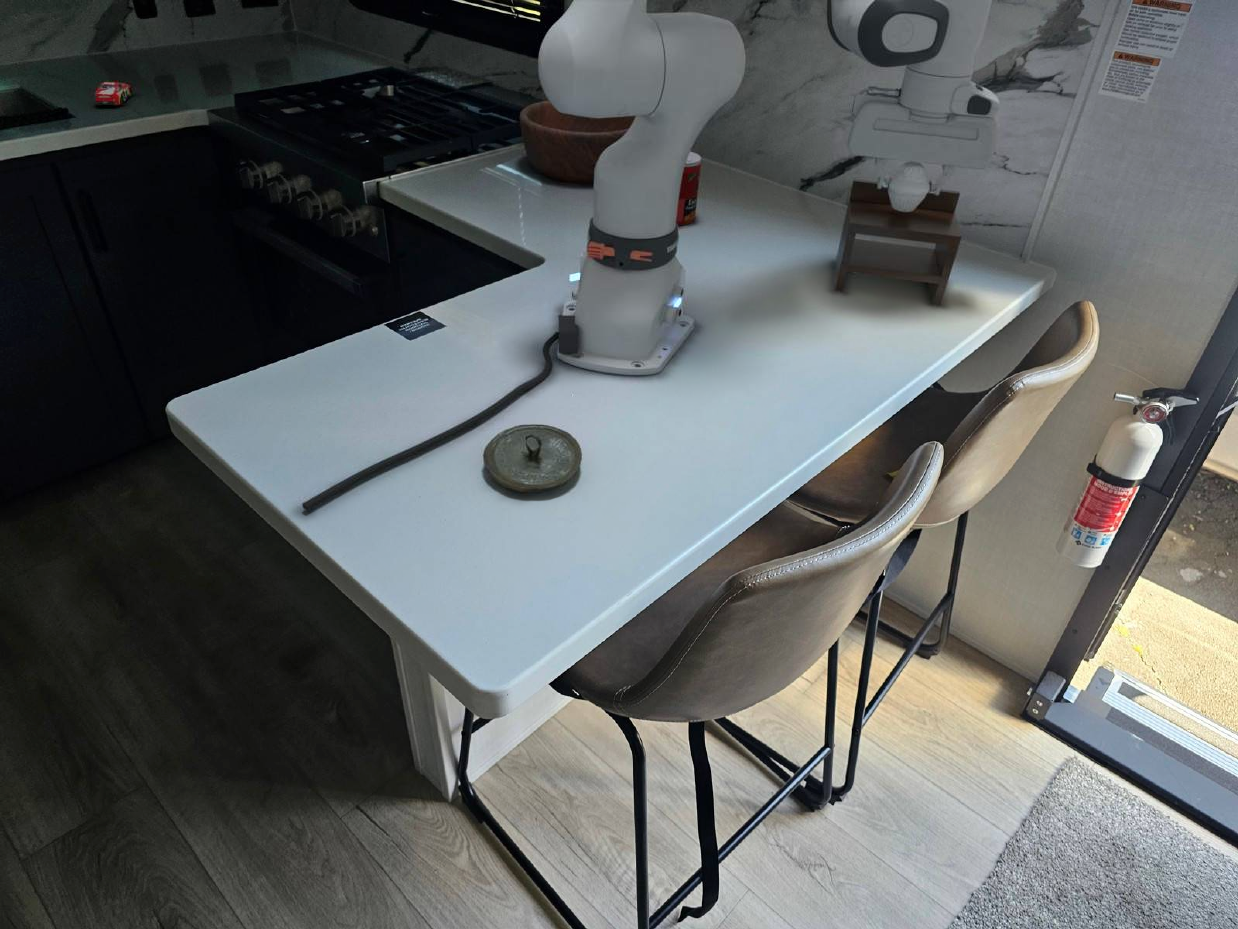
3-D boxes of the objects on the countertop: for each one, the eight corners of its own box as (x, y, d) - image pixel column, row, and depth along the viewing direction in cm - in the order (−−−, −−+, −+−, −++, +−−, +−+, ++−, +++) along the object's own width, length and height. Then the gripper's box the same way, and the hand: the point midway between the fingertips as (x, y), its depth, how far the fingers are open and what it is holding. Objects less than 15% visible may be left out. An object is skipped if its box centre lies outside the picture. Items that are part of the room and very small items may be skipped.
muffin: (874, 206, 128) (885, 159, 123) (894, 198, 131) (906, 151, 127) (911, 218, 124) (924, 170, 120) (931, 209, 128) (944, 162, 124)
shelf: (940, 305, 130) (967, 216, 121) (834, 291, 132) (854, 202, 124) (934, 276, 138) (959, 191, 130) (835, 263, 141) (853, 178, 132)
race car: (111, 93, 198) (105, 74, 195) (136, 93, 199) (131, 75, 196) (93, 108, 187) (87, 89, 185) (119, 108, 188) (114, 89, 186)
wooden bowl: (601, 198, 159) (603, 142, 153) (495, 169, 169) (493, 115, 163) (665, 165, 176) (670, 113, 170) (566, 141, 186) (567, 91, 180)
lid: (561, 445, 98) (555, 405, 96) (600, 475, 90) (594, 432, 88) (475, 472, 94) (467, 431, 92) (507, 505, 86) (499, 461, 84)
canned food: (692, 228, 150) (698, 165, 143) (647, 222, 151) (652, 159, 144) (697, 212, 156) (704, 151, 149) (654, 207, 157) (659, 146, 150)
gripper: (857, 89, 117) (837, 189, 125) (1012, 105, 114) (980, 206, 122) (856, 79, 122) (836, 176, 130) (1004, 94, 119) (974, 192, 127)
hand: (907, 191), depth 126 cm, fingers closed on muffin, 6 cm apart
